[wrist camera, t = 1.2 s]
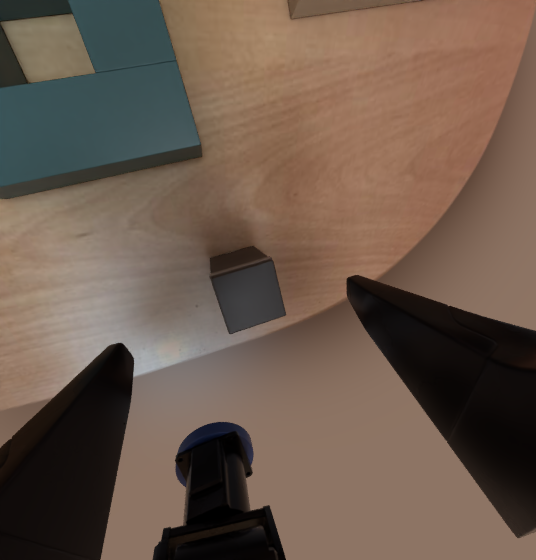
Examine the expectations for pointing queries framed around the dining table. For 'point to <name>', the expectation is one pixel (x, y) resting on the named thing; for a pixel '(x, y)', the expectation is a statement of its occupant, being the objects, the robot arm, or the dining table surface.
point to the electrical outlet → (334, 6)
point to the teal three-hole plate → (94, 101)
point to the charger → (246, 288)
